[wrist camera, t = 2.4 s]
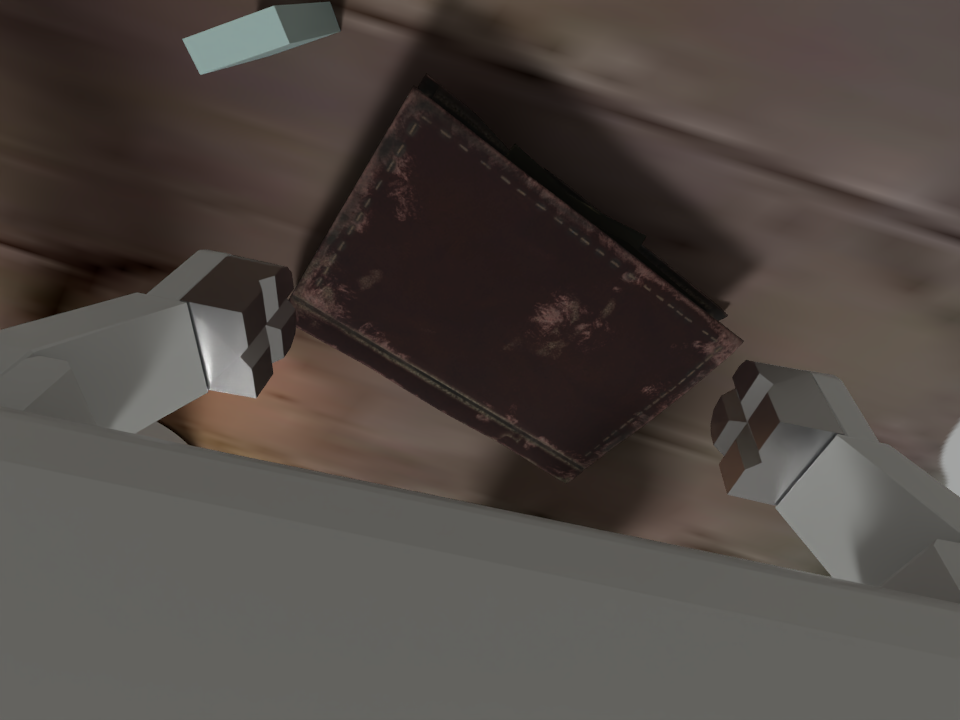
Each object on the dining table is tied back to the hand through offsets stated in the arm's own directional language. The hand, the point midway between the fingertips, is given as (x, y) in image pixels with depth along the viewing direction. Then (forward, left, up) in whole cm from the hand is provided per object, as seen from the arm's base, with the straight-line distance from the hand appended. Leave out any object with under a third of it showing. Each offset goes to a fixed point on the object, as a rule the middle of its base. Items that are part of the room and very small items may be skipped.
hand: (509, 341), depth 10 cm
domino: (-10, +7, -26) cm, 28 cm away
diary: (-3, -12, -26) cm, 29 cm away
